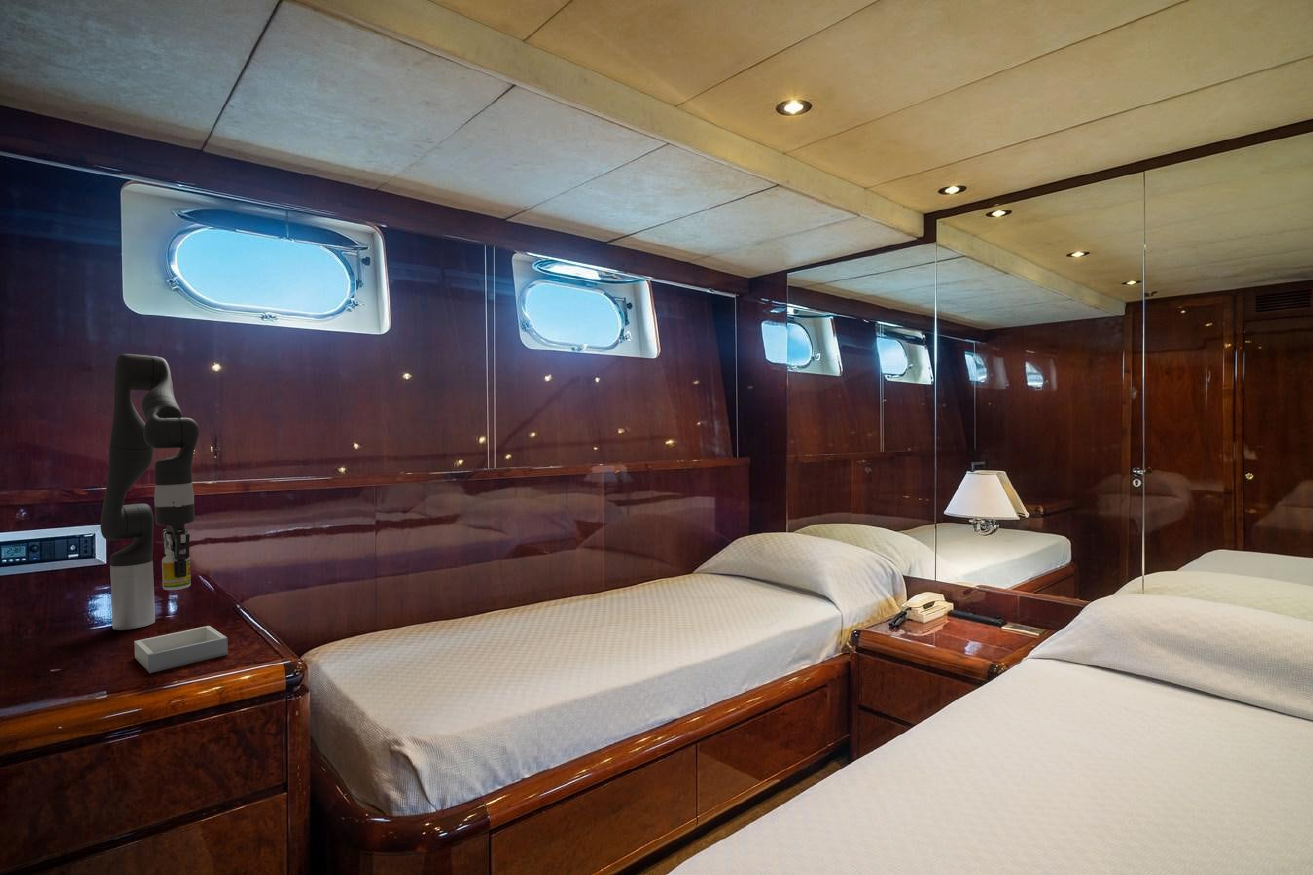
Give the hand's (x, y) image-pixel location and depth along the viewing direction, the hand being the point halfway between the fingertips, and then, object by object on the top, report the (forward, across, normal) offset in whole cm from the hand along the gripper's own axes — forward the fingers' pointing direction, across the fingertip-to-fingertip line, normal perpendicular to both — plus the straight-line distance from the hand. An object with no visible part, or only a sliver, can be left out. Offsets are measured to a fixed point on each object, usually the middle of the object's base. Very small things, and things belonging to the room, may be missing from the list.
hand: (177, 574), depth 157 cm
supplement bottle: (+3, 0, 0) cm, 3 cm away
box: (+19, 0, 0) cm, 19 cm away
